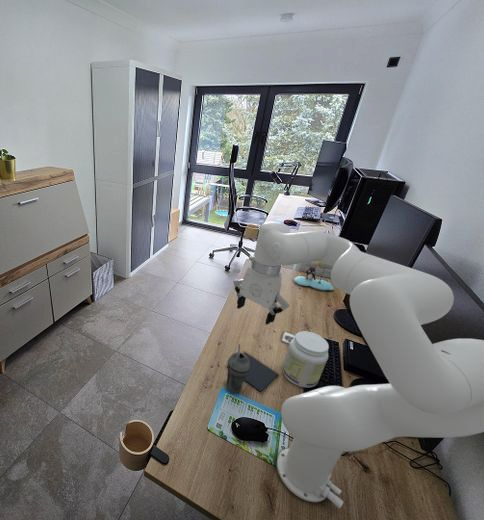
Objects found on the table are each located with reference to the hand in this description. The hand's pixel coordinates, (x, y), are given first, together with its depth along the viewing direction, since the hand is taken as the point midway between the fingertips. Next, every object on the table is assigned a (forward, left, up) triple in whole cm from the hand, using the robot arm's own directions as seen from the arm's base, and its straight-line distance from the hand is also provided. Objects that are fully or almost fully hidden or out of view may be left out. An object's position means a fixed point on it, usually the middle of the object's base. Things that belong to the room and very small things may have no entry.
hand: (254, 314), depth 89 cm
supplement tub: (-12, -22, -32) cm, 40 cm away
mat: (0, -10, -31) cm, 33 cm away
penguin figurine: (+13, -93, -32) cm, 99 cm away
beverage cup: (0, +2, -32) cm, 32 cm away
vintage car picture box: (-5, -40, -32) cm, 51 cm away
